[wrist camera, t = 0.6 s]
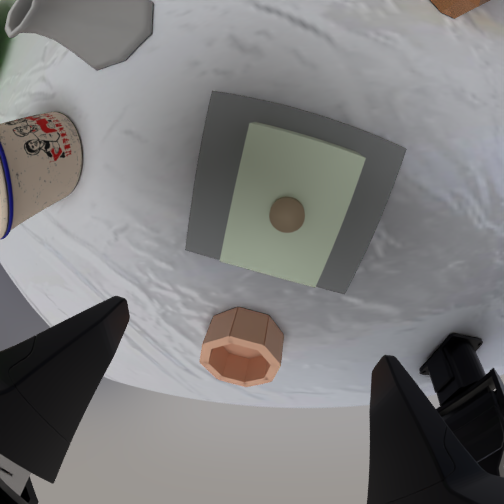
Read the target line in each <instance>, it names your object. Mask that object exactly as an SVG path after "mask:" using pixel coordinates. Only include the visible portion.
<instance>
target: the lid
mask: <svg viewBox="0 0 504 504" xmlns="http://www.w3.org/2000/svg"><path fill="white" fill-rule="evenodd" d="M365 159H366V158H365V157H364V156H362V155H361V154H359V153H358V152H355V151H353V150H350V149H347V148H344V147H341V146H338V145H336V144H333V143H330V142H327V141H323V140H320V139H317V138H314V137H311V136H307V135H304V134H300V133H297V132H293V131H290V130H286V129H282V128H279V127H275V126H271V125H267V124H262V123H258V122H253V123H249V127H248V131H247V136H246V140H245V144H244V149H243V153H242V157H241V162H240V166H239V171H238V175H237V180H236V184H235V189H234V193H233V198H232V203H231V207H230V212H229V217H228V222H227V227H226V232H225V237H224V242H223V247H222V252H221V257H220V262H224V263H227V264H231V265H234V266H238V267H241V268H245V269H249V270H252V271H256V272H259V273H263V274H267V275H270V276H274V277H277V278H281V279H285V280H288V281H292V282H296V283H299V284H303V285H307V286H311V287H314V288H315V287H316V285H317V283H318V280H319V278H320V276H321V274H322V271H323V269H324V267H325V264H326V262H327V260H328V257H329V255H330V252H331V250H332V248H333V245H334V243H335V240H336V238H337V235H338V233H339V230H340V228H341V225H342V223H343V220H344V218H345V215H346V212H347V210H348V207H349V204H350V202H351V199H352V196H353V194H354V191H355V188H356V185H357V182H358V180H359V177H360V174H361V171H362V168H363V165H364V162H365Z"/></svg>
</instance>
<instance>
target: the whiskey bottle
mask: <svg viewBox="0 0 504 504" xmlns="http://www.w3.org/2000/svg"><path fill="white" fill-rule="evenodd" d="M431 1H432V3H433V4H434V5H435V6H436V7H437V8H438V9H439V10H440V12H442V13H444V14H446V15H448V16H450V17H452V18H454V19H455V18H457V17H459V16H460V15H462V14H464V13H466V12H468V11H470V10H472V9H474V8H476V7H478V6H480V5H482V4H484V3H486V2H488V1H490V0H431Z"/></svg>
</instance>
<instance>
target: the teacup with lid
mask: <svg viewBox="0 0 504 504" xmlns="http://www.w3.org/2000/svg"><path fill="white" fill-rule="evenodd" d="M81 165H82V151H81V144H80V139H79V136H78V133H77V131H76V129H75V127H74V125H73V124H72V122H71V121H70V120H69V119H68V118H67V117H66V116H65V115H63V114H61V113H58V112H50V113H44V114H39V115H34V116H30V117H25V118H21V119H17V120H13V121H9V122H6V123H2V124H0V239H4V238H5V237H6V236H7V235H8V234H9V232H10V230H12V229H13V228H15V227H16V226H18V225H19V224H21V223H22V222H24V221H25V220H27V219H29V218H30V217H32V216H34V215H35V214H37V213H39V212H40V211H42V210H44V209H45V208H47V207H49V206H50V205H52V204H54V203H56V202H58V201H59V200H61V199H63V198H65V197H66V196H68V195H69V194H70V193H71V192H72V191H73V189H74V188H75V186H76V184H77V182H78V179H79V176H80V172H81Z"/></svg>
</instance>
